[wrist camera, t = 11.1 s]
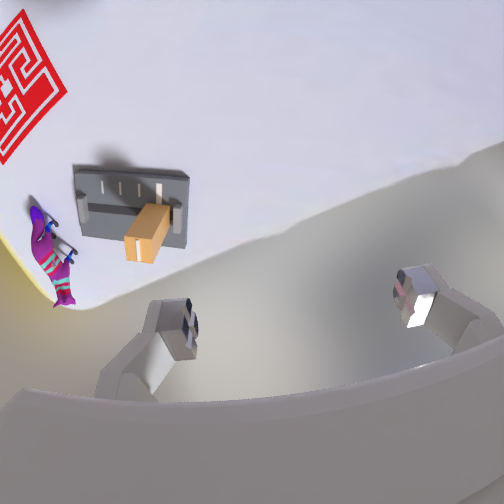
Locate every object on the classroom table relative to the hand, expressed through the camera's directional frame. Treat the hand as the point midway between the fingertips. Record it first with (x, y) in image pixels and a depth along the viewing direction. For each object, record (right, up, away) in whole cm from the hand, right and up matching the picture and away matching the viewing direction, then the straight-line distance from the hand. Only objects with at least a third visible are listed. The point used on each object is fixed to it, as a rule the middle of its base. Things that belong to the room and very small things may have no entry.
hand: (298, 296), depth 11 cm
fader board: (-20, +9, +31) cm, 38 cm away
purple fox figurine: (-36, +4, +35) cm, 50 cm away
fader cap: (-15, +7, +30) cm, 35 cm away
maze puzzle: (-42, +29, +18) cm, 54 cm away
